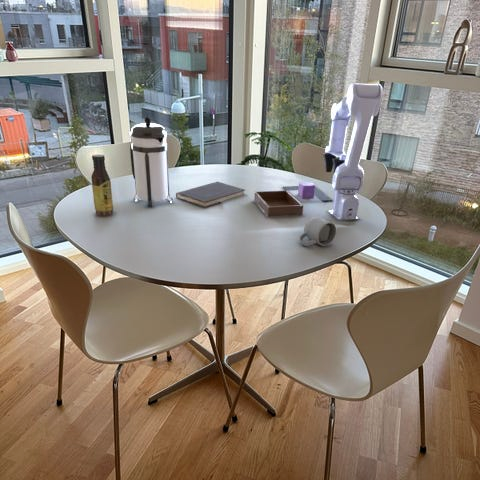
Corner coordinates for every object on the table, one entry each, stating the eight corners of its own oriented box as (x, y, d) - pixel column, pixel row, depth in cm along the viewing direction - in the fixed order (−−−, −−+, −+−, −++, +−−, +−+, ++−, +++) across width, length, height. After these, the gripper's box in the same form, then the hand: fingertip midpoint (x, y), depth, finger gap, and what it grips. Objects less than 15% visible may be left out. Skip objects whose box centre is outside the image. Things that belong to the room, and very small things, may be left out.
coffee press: (177, 196, 183) (174, 114, 167) (168, 209, 169) (163, 121, 153) (134, 193, 184) (127, 111, 168) (121, 206, 170) (112, 118, 154)
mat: (332, 201, 184) (332, 199, 184) (299, 202, 181) (299, 201, 181) (313, 186, 201) (313, 185, 200) (282, 187, 198) (283, 186, 197)
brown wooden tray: (302, 216, 168) (303, 205, 166) (267, 218, 165) (268, 207, 163) (286, 200, 183) (287, 190, 181) (254, 202, 180) (254, 191, 178)
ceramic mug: (318, 235, 153) (321, 212, 149) (335, 243, 147) (338, 220, 143) (293, 241, 148) (295, 218, 144) (309, 250, 142) (312, 227, 138)
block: (313, 197, 186) (315, 185, 183) (302, 198, 184) (303, 185, 182) (309, 194, 190) (310, 181, 187) (297, 194, 188) (299, 182, 186)
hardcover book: (244, 195, 187) (245, 189, 186) (204, 208, 172) (204, 202, 171) (216, 186, 195) (216, 181, 194) (175, 198, 180) (175, 192, 179)
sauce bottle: (109, 217, 160) (102, 158, 149) (92, 215, 161) (84, 157, 150) (117, 211, 165) (110, 154, 155) (100, 209, 166) (93, 152, 156)
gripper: (320, 134, 181) (316, 170, 188) (335, 142, 169) (330, 179, 176) (336, 134, 182) (332, 169, 189) (353, 142, 170) (347, 179, 178)
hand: (332, 174), depth 183 cm, fingers open, 7 cm apart
